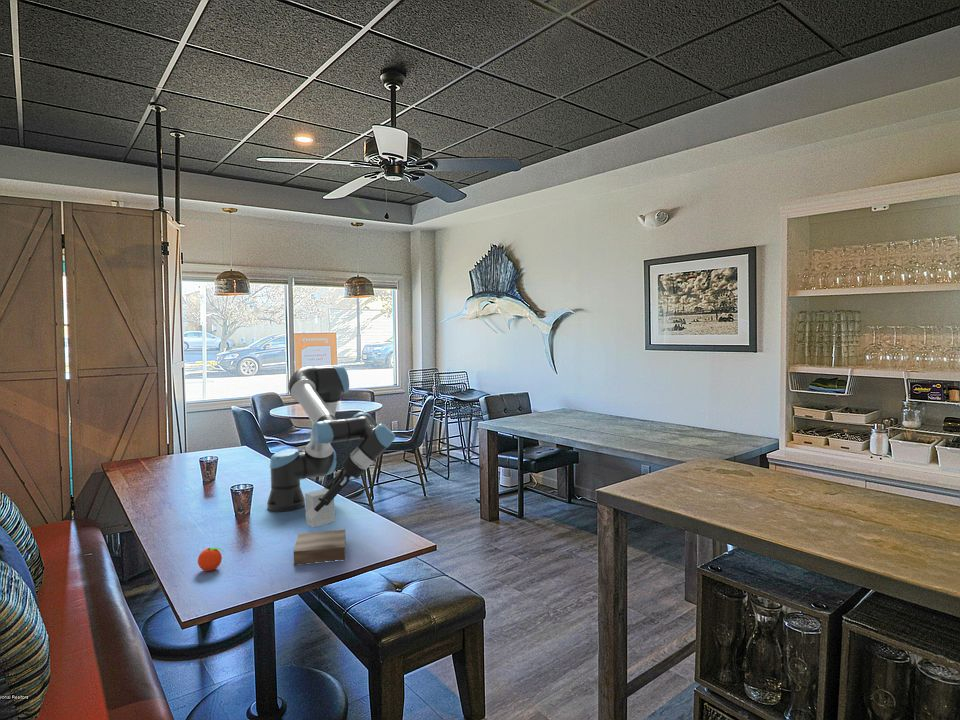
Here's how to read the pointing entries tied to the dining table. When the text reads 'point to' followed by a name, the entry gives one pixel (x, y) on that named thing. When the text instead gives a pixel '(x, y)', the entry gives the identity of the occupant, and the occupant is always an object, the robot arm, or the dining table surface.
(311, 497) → the small box
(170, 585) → the dining table surface
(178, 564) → the dining table surface
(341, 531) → the walnut block
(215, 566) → the clementine
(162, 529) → the dining table surface
